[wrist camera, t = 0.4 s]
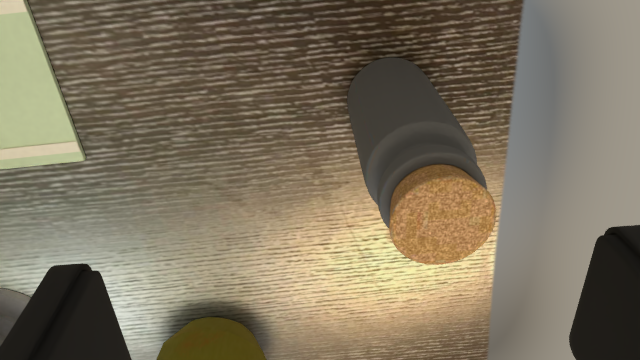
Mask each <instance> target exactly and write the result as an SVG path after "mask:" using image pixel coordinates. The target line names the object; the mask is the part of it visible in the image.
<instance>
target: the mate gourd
mask: <svg viewBox="0 0 640 360" xmlns="http://www.w3.org/2000/svg"><path fill="white" fill-rule="evenodd" d="M30 299H31V297H29V296H26V295H24V294H21V293H19V292H15V291H11V290H7V289H3V288H0V346H1V344H2V343H3V341H4V340H5V338H6V337H7V335H8V333H9V332H10V330H11V329H12V327H13V326H14V324H15V322H16V321H17V319H18V318H19V316H20V315H21V313H22V311H23V310H24V308H25V307H26V305H27V303H28V302H29V300H30Z"/></svg>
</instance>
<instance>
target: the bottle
mask: <svg viewBox="0 0 640 360" xmlns="http://www.w3.org/2000/svg"><path fill="white" fill-rule="evenodd" d="M347 104H348V111H349V116H350V121H351V125H352V130H353V134H354V138H355V142H356V147H357V151H358V155H359V159H360V164H361V168H362V172H363V176H364V180H365V184H366V186H367V189H368V192H369V194H370V195H371V197H372V199H373V200H374V201H375V202H376V204H377V205H378V207H379V211H380V214H381V217H382V219H383V221H384V223H385V224H386V225H387V227H388V228H389V230H390V236H391V239H392V241H393V243H394V245H395V246H396V248H397V249H398V250H399V251H400V252H401V253H402V254H403V255H405V256H406V257H408V258H409V259H411V260H414V261H416V262H420V263H424V264H437V265H438V264H446V263H451V262H455V261H458V260H460V259H463V258H465V257H466V256H468V255H470V254H472V253H473V252H475V251H476V250H477V249H478V248H479V247H481V246H482V245H483V244H484V242H485V241H486V240H487V239H488V237H489V236H490V234H491V232H492V230H493V227H494V225H495V221H496V208H495V204H494V200H493V198H492V196H491V195H490V193H489V192H488V191H487V186H486V182H485V178H484V176H483V174H482V172H481V170H480V168H479V167H478V165H477V159H476V154H475V150H474V148H473V146H472V144H471V141H470V140H469V138H468V136H467V135H466V133H465V132H464V130H463V129H462V127H461V125H460V124H459V122H458V121H457V120H456V118H455V117H454V115H453V114H452V112H451V111H450V109H449V108H448V106H447V105H446V104H445V102H444V101H443V99H442V98H441V96H440V95H439V93H438V92H437V90H436V89H435V87H434V86H433V85H432V83H431V82H430V80H429V79H428V77H427V76H426V75H425V73H424V72H423V71H422V70H421V69H420V68H419V67H418V66H417V65H415V64H414V63H412V62H410V61H408V60H405V59H401V58H383V59H379V60H376V61H374V62H371V63H370V64H368V65H367V66H365V67H364V68H363V69H362V70H361V71H360V72H359V73H358V74H357V75H356V76H355V78H354V79H353V81H352V83H351V85H350V88H349V91H348V96H347Z"/></svg>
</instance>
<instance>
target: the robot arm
mask: <svg viewBox="0 0 640 360" xmlns="http://www.w3.org/2000/svg"><path fill="white" fill-rule="evenodd" d="M569 340H570V341H569V342H570V347H571V350H572V353H573V355H574V357H575V358H576V360H640V225H635V226H620V227H611V228H609V229H608V230H607V231H606V232H605V234H604V235H603V236H600V237H599V238H598V239H597V241H596V244H595V247H594V251H593V254H592V258H591V261H590V265H589V268H588V272H587V276H586V279H585V283H584V286H583V289H582V293H581V297H580V300H579V304H578V307H577V311H576V314H575V318H574V321H573V325H572V328H571V332H570V336H569ZM0 360H131V357H130V354H129V351H128V349H127V346H126V343H125V340H124V337H123V335H122V332H121V329H120V326H119V323H118V321H117V318H116V315H115V312H114V309H113V307H112V304H111V301H110V298H109V295H108V293H107V290H106V287H105V284H104V281H103V279H102V276H101V274H100V273H99V272H98V271H92V270H91V268H90V266H89V265H88V264H70V265H56V266H53V267H51V268H50V269H49V271H48V272H47V274H46V275H45V277H44V278H43V280H42V281H41V283H40V285H39V286H38V288H37V289H36V291H35V292H34V294H33V296H32V297H31V299H30V300H29V302H28V303H27V305H26V307H25V308H24V310H23V311H22V313H21V315H20V316H19V318H18V319H17V321H16V322H15V324H14V326H13V327H12V329H11V330H10V332H9V333H8V335H7V337H6V338H5V340H4V341H3V343H2V344H1V346H0Z"/></svg>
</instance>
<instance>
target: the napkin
mask: <svg viewBox="0 0 640 360" xmlns="http://www.w3.org/2000/svg"><path fill="white" fill-rule="evenodd" d="M85 159H86V156H85V153H84V151H83V148H82V145H81V143H80V140H79V137H78V135H77V132H76V129H75V127H74V124H73V121H72V119H71V116H70V113H69V111H68V108H67V106H66V103H65V100H64V98H63V95H62V92H61V90H60V87H59V84H58V82H57V79H56V76H55V74H54V71H53V68H52V66H51V63H50V60H49V58H48V55H47V52H46V50H45V47H44V44H43V42H42V39H41V36H40V34H39V31H38V28H37V26H36V23H35V21H34V18H33V15H32V13H31V10H30V7H29V5H28V2H27V0H0V169H9V168H18V167H28V166H38V165H47V164H57V163H66V162H76V161H84V160H85Z"/></svg>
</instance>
